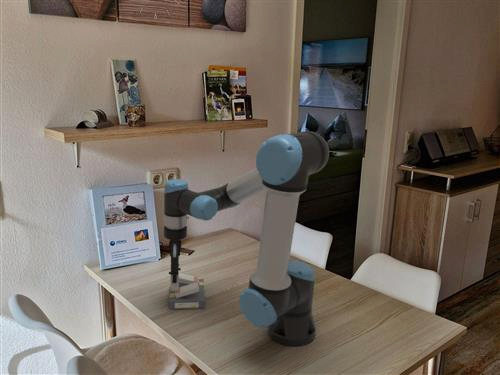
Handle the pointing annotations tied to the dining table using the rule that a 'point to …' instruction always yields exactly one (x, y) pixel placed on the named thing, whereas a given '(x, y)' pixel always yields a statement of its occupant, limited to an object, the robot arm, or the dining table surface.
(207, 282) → the dining table surface
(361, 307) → the dining table surface
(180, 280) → the rocker rear
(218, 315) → the dining table surface
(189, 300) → the switch unit
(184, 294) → the rocker front
